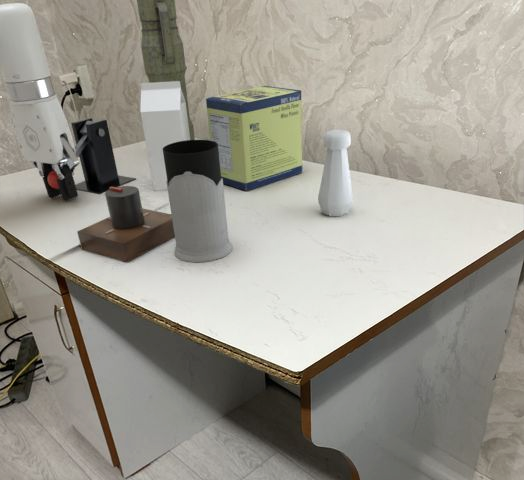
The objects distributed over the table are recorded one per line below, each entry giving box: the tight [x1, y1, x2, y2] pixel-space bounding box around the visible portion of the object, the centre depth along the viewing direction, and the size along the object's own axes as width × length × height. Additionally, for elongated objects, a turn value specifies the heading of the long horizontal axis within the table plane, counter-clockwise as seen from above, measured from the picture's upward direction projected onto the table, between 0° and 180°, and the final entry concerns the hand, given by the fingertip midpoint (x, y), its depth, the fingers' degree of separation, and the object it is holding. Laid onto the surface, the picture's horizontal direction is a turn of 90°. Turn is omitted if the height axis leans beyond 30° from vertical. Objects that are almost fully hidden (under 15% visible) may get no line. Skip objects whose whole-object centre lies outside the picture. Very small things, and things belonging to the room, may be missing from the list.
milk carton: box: [139, 81, 190, 192], centre depth 100 cm, size 7×7×19 cm
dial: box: [104, 185, 145, 229], centre depth 82 cm, size 5×5×5 cm
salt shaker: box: [317, 129, 354, 217], centre depth 87 cm, size 6×6×13 cm
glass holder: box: [163, 139, 233, 263], centre depth 79 cm, size 9×14×15 cm, turn 177°
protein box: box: [205, 85, 303, 192], centre depth 104 cm, size 10×16×16 cm
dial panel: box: [76, 207, 175, 263], centre depth 84 cm, size 12×10×3 cm
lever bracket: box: [70, 117, 137, 195], centre depth 105 cm, size 10×9×13 cm
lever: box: [47, 120, 96, 189], centre depth 100 cm, size 15×3×3 cm
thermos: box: [136, 0, 196, 140], centre depth 116 cm, size 9×12×35 cm
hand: (63, 196), depth 101 cm, fingers closed on lever, 3 cm apart
